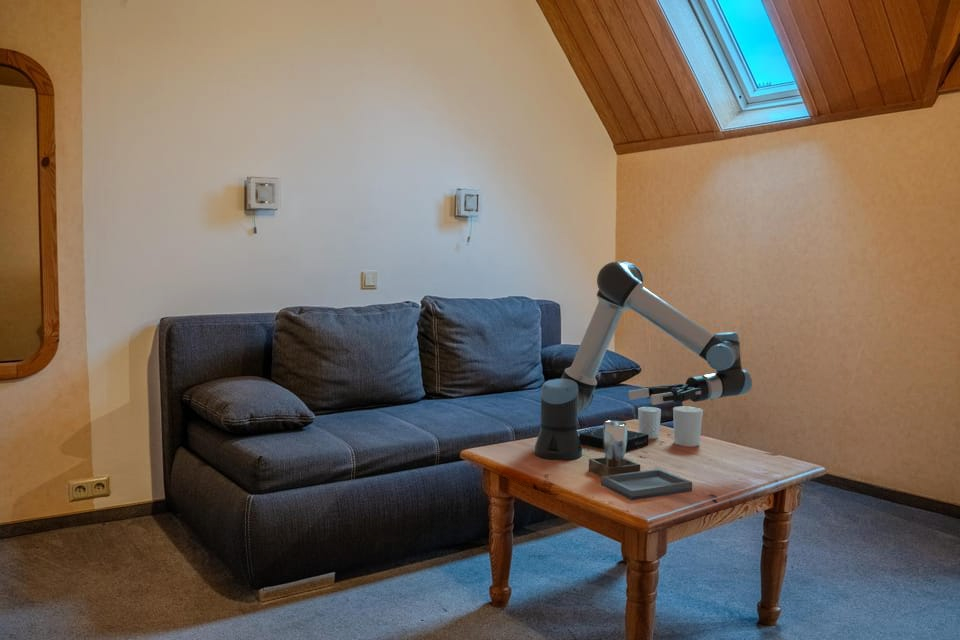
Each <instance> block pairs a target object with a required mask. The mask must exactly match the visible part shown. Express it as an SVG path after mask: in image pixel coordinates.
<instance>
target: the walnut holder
mask: <svg viewBox="0 0 960 640" xmlns="http://www.w3.org/2000/svg"><path fill="white" fill-rule="evenodd" d="M588 471H589V472H591V473H592V474H595V475H597V476H599V477H601V476H608V475H615V474H623V473H630V472H638V471H641V464H640V463H638V462H635V461H633V460H630V459H628V458H626V457H624V466H618V467H608V466H606V465H605V456H604V457H594V458H589V459H588Z"/></svg>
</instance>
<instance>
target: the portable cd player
mask: <svg viewBox="0 0 960 640" xmlns="http://www.w3.org/2000/svg"><path fill="white" fill-rule="evenodd" d="M603 430H604V427H600V428H597V429H596V428H595V429H593V430H590V431H589V430H588V431H584V432H581V433H579V434H578V436H579V440H580V443H581V446H582V445H583V446H587V447H591V448H596V449H600V450H603V451H604V446H603ZM648 445H649V439H648V434H643V433H639V431H638V432H637V431H632V430H628V429H627V446H626V451H625V453H626V452H629V451H633V450H636V449H639V448H642V447H647V446H648Z"/></svg>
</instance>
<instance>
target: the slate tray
mask: <svg viewBox="0 0 960 640" xmlns="http://www.w3.org/2000/svg"><path fill="white" fill-rule="evenodd" d="M600 477H601V479H600V480H601V481H600V485H601V487H603V488H606V489H607V490H610V491H611V492H614V493H616V494H618V495H619V496H622V497H624V498H626V499H627V500H630V501H635V500H644V499H649V498H655V497H656V498H657V497H662V496H671V495H675V494H676V495H677V494H682V493H690V492H693V481H690V480H688V479H685V478H683V477H681V476H679V475H676V474H673V473H671V472H668V471H665V470H664V469H662V468H653V469H647V470H646V469H645V470H640V471H638V472H630V473H623V474H615V475H608V476H600Z"/></svg>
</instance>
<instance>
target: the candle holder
mask: <svg viewBox="0 0 960 640" xmlns="http://www.w3.org/2000/svg"><path fill="white" fill-rule="evenodd" d="M672 411H673V412H672V413H673V416H672V417H673V442H674V444H675V445H677V446H681V447H688V448H690V447H691V448H692V447H698V446H699V445H700V444H701V443H700V442H701V434H702V433H701V432H702V420H703V412H704V410H703V409H702V408H700V407H695V406H685V405H684V406H683V405H682V406H674V407H672Z"/></svg>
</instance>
